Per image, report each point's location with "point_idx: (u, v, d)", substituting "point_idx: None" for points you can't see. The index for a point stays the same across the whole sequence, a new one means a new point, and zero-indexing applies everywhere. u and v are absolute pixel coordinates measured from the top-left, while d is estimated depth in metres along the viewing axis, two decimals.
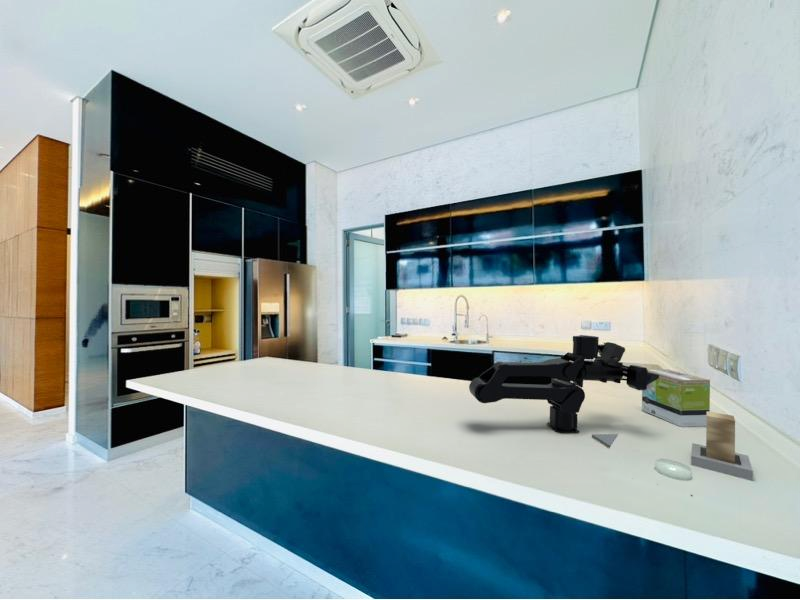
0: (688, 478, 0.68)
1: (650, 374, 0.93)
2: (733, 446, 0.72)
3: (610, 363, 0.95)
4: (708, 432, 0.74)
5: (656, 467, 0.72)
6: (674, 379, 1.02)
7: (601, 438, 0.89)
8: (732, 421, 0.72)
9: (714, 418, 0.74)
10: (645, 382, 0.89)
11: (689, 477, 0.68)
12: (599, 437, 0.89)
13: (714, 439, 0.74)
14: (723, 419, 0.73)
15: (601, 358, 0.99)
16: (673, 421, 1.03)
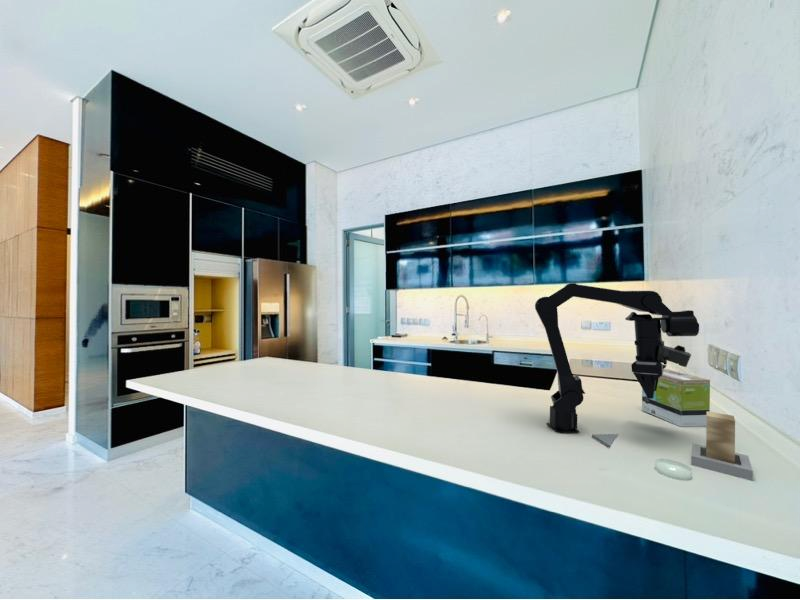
0: (688, 478, 0.68)
1: (652, 386, 0.85)
2: (733, 446, 0.72)
3: (661, 348, 0.86)
4: (708, 432, 0.74)
5: (656, 467, 0.72)
6: (674, 379, 1.02)
7: (601, 438, 0.89)
8: (732, 421, 0.72)
9: (714, 418, 0.74)
10: (642, 371, 0.83)
11: (689, 477, 0.68)
12: (599, 437, 0.89)
13: (714, 439, 0.74)
14: (723, 419, 0.73)
15: (665, 346, 0.89)
16: (673, 421, 1.03)
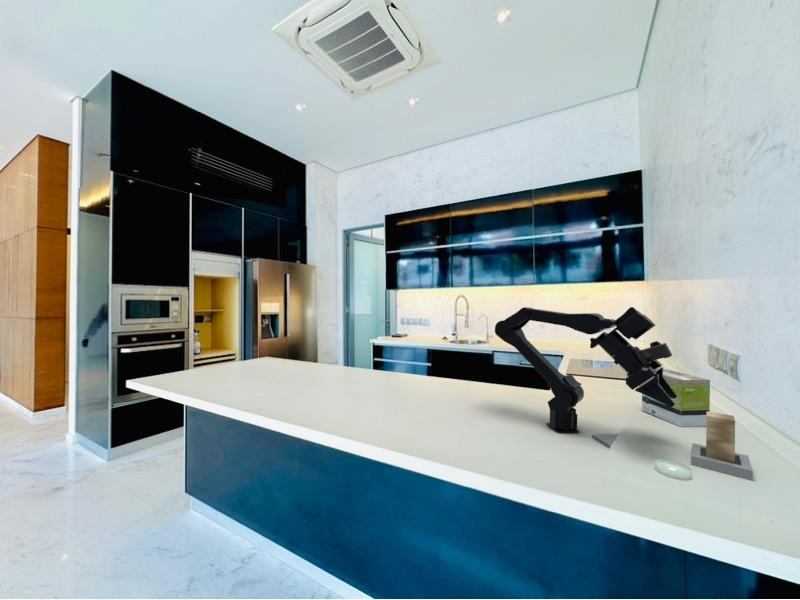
0: (688, 478, 0.68)
1: (662, 392, 0.77)
2: (733, 446, 0.72)
3: (637, 353, 0.83)
4: (708, 432, 0.74)
5: (656, 467, 0.72)
6: (674, 379, 1.02)
7: (601, 438, 0.89)
8: (732, 421, 0.72)
9: (714, 418, 0.74)
10: (638, 383, 0.77)
11: (689, 477, 0.68)
12: (599, 437, 0.89)
13: (714, 439, 0.74)
14: (723, 419, 0.73)
15: None
16: (673, 421, 1.03)
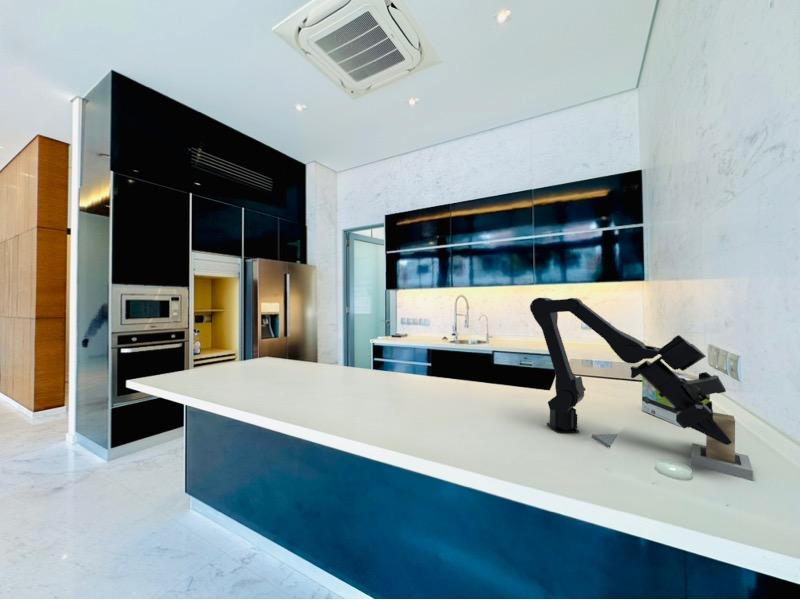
0: (688, 478, 0.68)
1: (717, 429, 0.72)
2: (733, 446, 0.72)
3: (686, 386, 0.77)
4: None
5: (656, 467, 0.72)
6: None
7: (601, 438, 0.89)
8: (732, 421, 0.72)
9: (714, 418, 0.74)
10: (691, 421, 0.71)
11: (689, 477, 0.68)
12: (599, 437, 0.89)
13: (714, 439, 0.74)
14: (723, 419, 0.73)
15: (689, 381, 0.79)
16: (673, 421, 1.03)
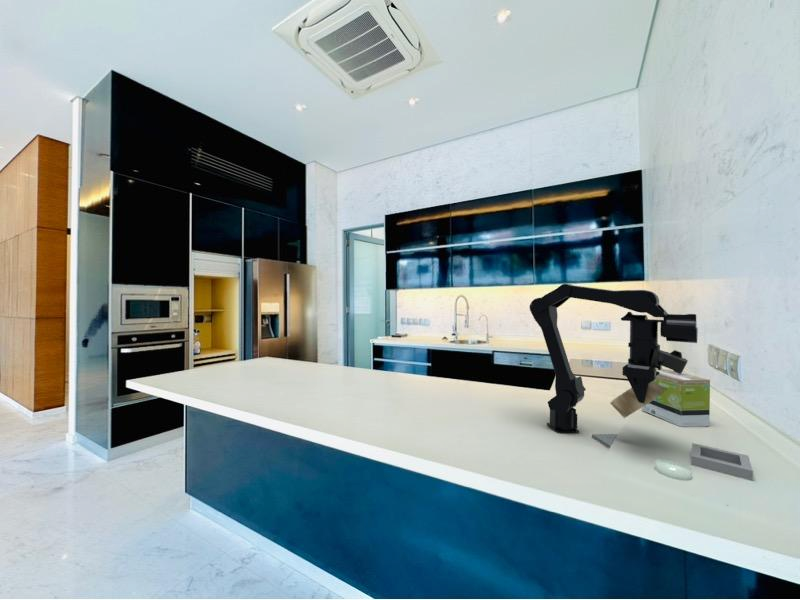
0: (688, 478, 0.68)
1: (644, 390, 0.81)
2: (642, 405, 0.82)
3: (656, 352, 0.80)
4: None
5: (656, 467, 0.72)
6: (674, 379, 1.02)
7: (601, 438, 0.89)
8: (660, 393, 0.80)
9: (650, 383, 0.81)
10: (633, 375, 0.78)
11: (689, 477, 0.68)
12: (599, 437, 0.89)
13: (634, 394, 0.84)
14: (656, 388, 0.81)
15: (661, 350, 0.83)
16: (673, 421, 1.03)
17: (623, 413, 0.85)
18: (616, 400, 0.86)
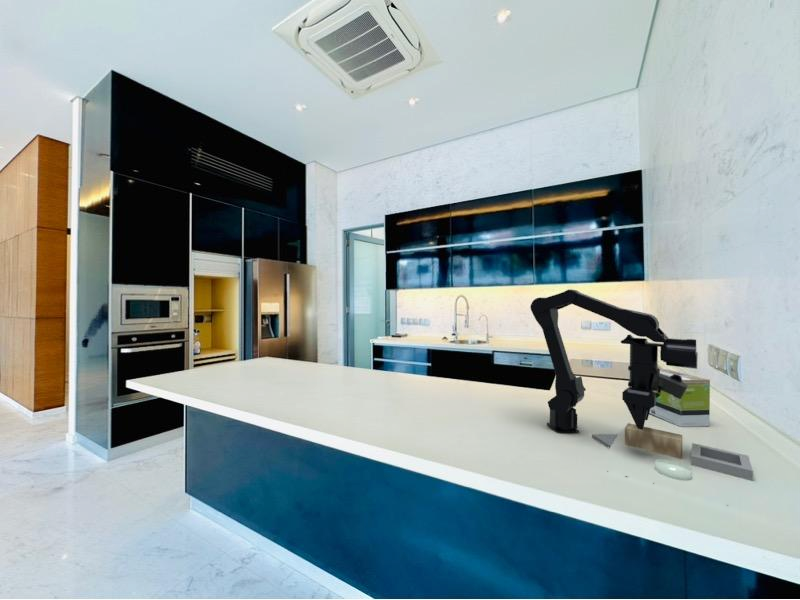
0: (688, 478, 0.68)
1: (643, 416, 0.80)
2: None
3: (656, 376, 0.80)
4: (661, 437, 0.80)
5: (656, 467, 0.72)
6: None
7: (601, 438, 0.89)
8: (679, 457, 0.77)
9: (679, 445, 0.77)
10: (633, 400, 0.78)
11: (689, 477, 0.68)
12: (599, 437, 0.89)
13: (654, 439, 0.81)
14: (680, 451, 0.77)
15: (661, 374, 0.83)
16: (673, 421, 1.03)
17: (628, 442, 0.84)
18: (633, 430, 0.84)
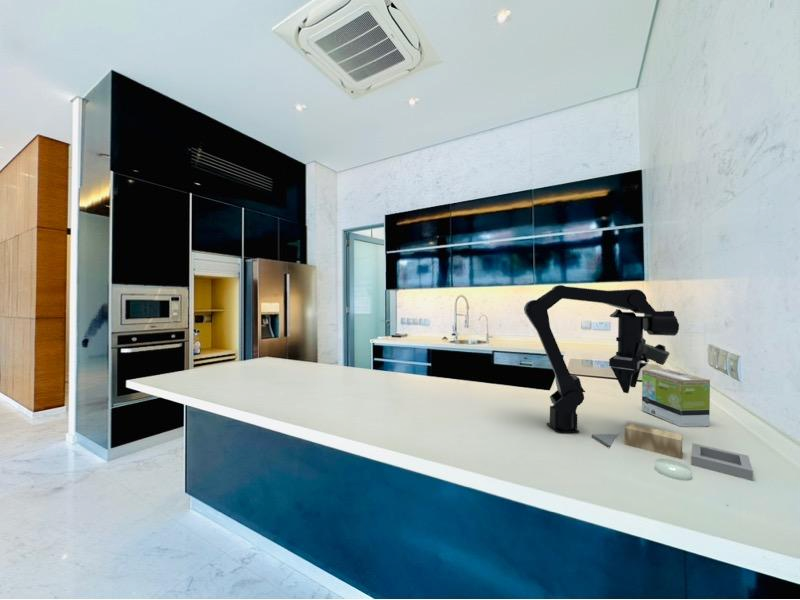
0: (688, 478, 0.68)
1: (628, 381, 0.88)
2: None
3: (640, 345, 0.89)
4: (661, 437, 0.80)
5: (656, 467, 0.72)
6: (674, 379, 1.02)
7: (601, 438, 0.89)
8: (679, 457, 0.77)
9: (679, 445, 0.77)
10: (618, 365, 0.87)
11: (689, 477, 0.68)
12: (599, 437, 0.89)
13: (654, 439, 0.81)
14: (680, 451, 0.77)
15: (646, 344, 0.91)
16: (673, 421, 1.03)
17: (628, 442, 0.84)
18: (633, 430, 0.84)
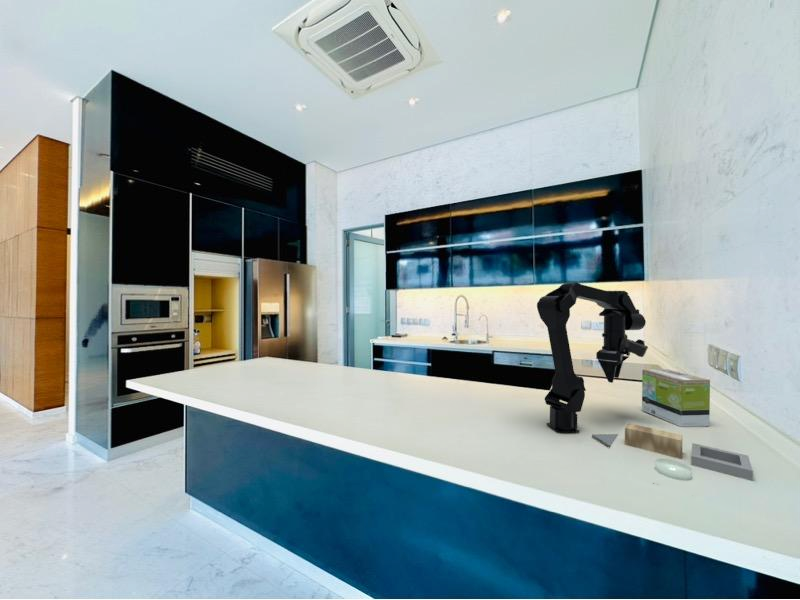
0: (688, 478, 0.68)
1: (612, 371, 1.00)
2: None
3: (623, 340, 1.01)
4: (661, 437, 0.80)
5: (656, 467, 0.72)
6: (674, 379, 1.02)
7: (601, 438, 0.89)
8: (679, 457, 0.77)
9: (679, 445, 0.77)
10: (604, 358, 0.98)
11: (689, 477, 0.68)
12: (599, 437, 0.89)
13: (654, 439, 0.81)
14: (680, 451, 0.77)
15: (628, 339, 1.03)
16: (673, 421, 1.03)
17: (628, 442, 0.84)
18: (633, 430, 0.84)
